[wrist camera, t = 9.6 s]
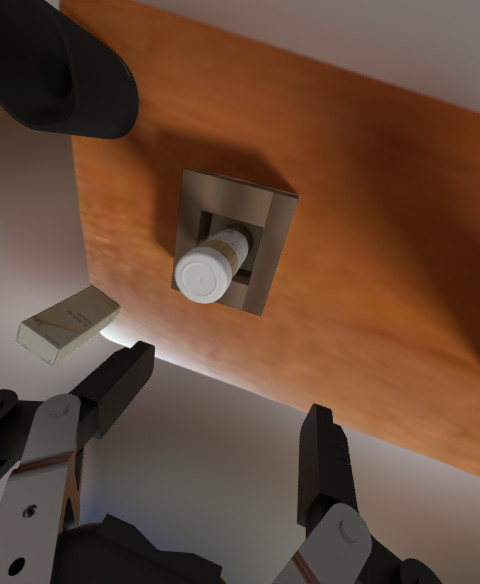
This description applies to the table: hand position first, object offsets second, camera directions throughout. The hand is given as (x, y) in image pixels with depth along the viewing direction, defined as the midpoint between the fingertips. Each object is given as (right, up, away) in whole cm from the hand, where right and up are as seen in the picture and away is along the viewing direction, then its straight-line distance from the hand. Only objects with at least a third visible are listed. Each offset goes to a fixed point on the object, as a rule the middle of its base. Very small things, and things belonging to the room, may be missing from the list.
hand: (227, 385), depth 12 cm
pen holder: (-15, +28, +18) cm, 36 cm away
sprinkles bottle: (0, +11, +20) cm, 23 cm away
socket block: (0, +12, +21) cm, 24 cm away
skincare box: (-24, +3, +32) cm, 40 cm away
